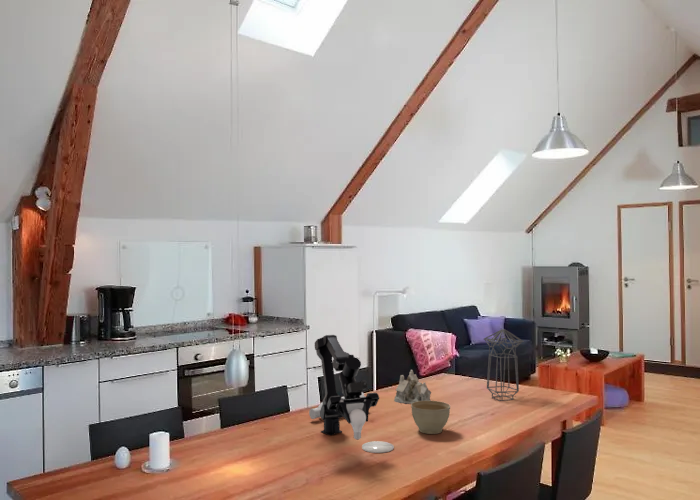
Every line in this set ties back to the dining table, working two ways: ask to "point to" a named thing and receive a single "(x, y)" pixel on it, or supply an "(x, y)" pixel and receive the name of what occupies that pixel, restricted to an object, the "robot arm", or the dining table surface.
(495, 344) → the geometric lantern
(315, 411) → the bottle
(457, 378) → the dining table surface
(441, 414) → the planter bowl
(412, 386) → the ceramic cottage
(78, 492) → the dining table surface
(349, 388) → the robot arm
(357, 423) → the lightbulb
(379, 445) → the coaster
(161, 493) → the dining table surface
